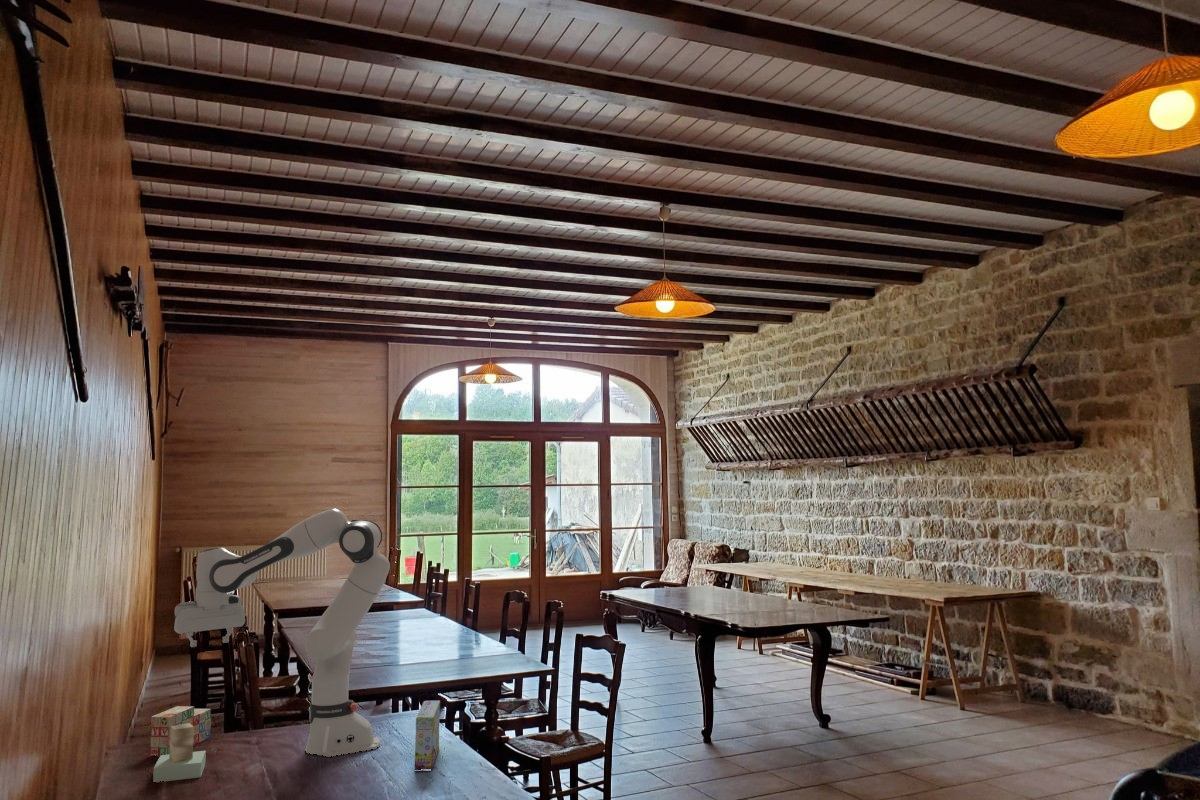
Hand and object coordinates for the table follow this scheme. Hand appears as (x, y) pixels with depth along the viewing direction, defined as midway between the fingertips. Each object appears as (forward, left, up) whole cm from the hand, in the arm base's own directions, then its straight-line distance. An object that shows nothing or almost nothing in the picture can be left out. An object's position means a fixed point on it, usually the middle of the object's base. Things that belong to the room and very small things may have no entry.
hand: (209, 644), depth 262 cm
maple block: (+5, +18, -29) cm, 34 cm away
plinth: (+5, +18, -33) cm, 38 cm away
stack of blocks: (+8, -11, -33) cm, 36 cm away
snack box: (-63, +33, -33) cm, 79 cm away
